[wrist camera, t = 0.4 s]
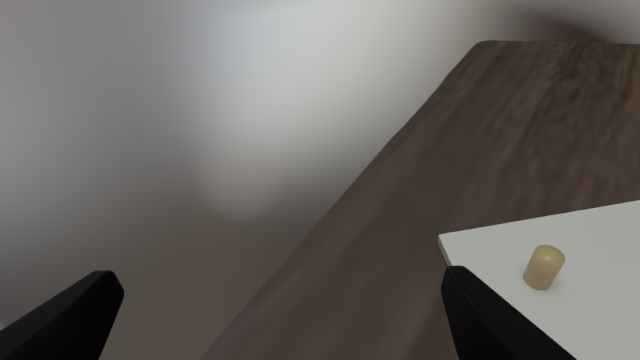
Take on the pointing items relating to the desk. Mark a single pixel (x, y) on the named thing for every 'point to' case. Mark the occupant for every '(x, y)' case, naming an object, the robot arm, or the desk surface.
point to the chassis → (565, 275)
